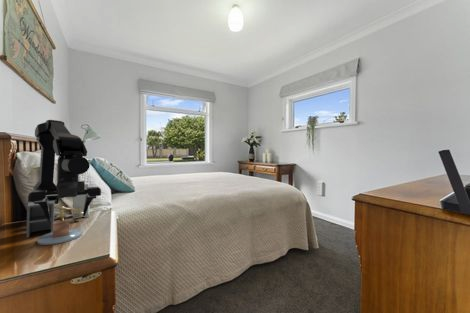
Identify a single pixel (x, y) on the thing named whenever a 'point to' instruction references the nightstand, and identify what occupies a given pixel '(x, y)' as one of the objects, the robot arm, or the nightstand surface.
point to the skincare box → (80, 204)
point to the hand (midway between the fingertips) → (67, 218)
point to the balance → (63, 214)
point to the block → (60, 228)
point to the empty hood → (39, 224)
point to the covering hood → (38, 210)
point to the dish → (49, 239)
